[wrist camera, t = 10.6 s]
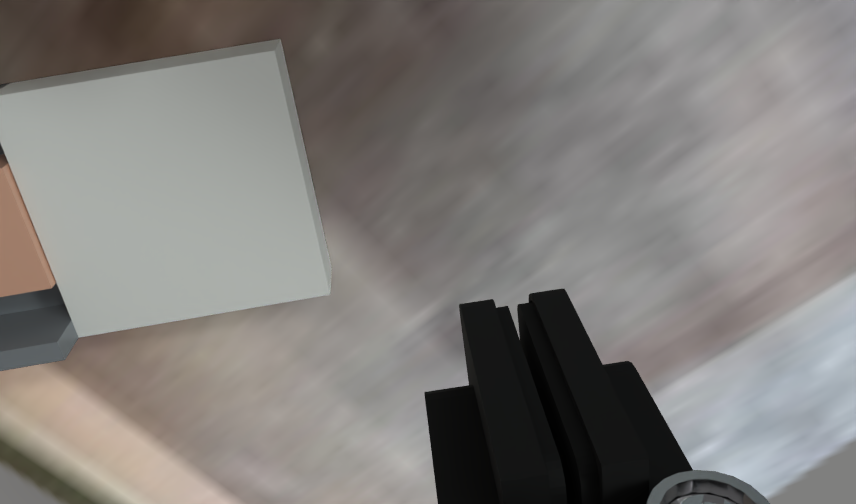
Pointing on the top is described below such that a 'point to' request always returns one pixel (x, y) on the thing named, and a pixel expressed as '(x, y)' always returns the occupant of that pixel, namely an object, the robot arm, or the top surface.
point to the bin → (34, 327)
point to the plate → (168, 186)
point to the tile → (19, 242)
